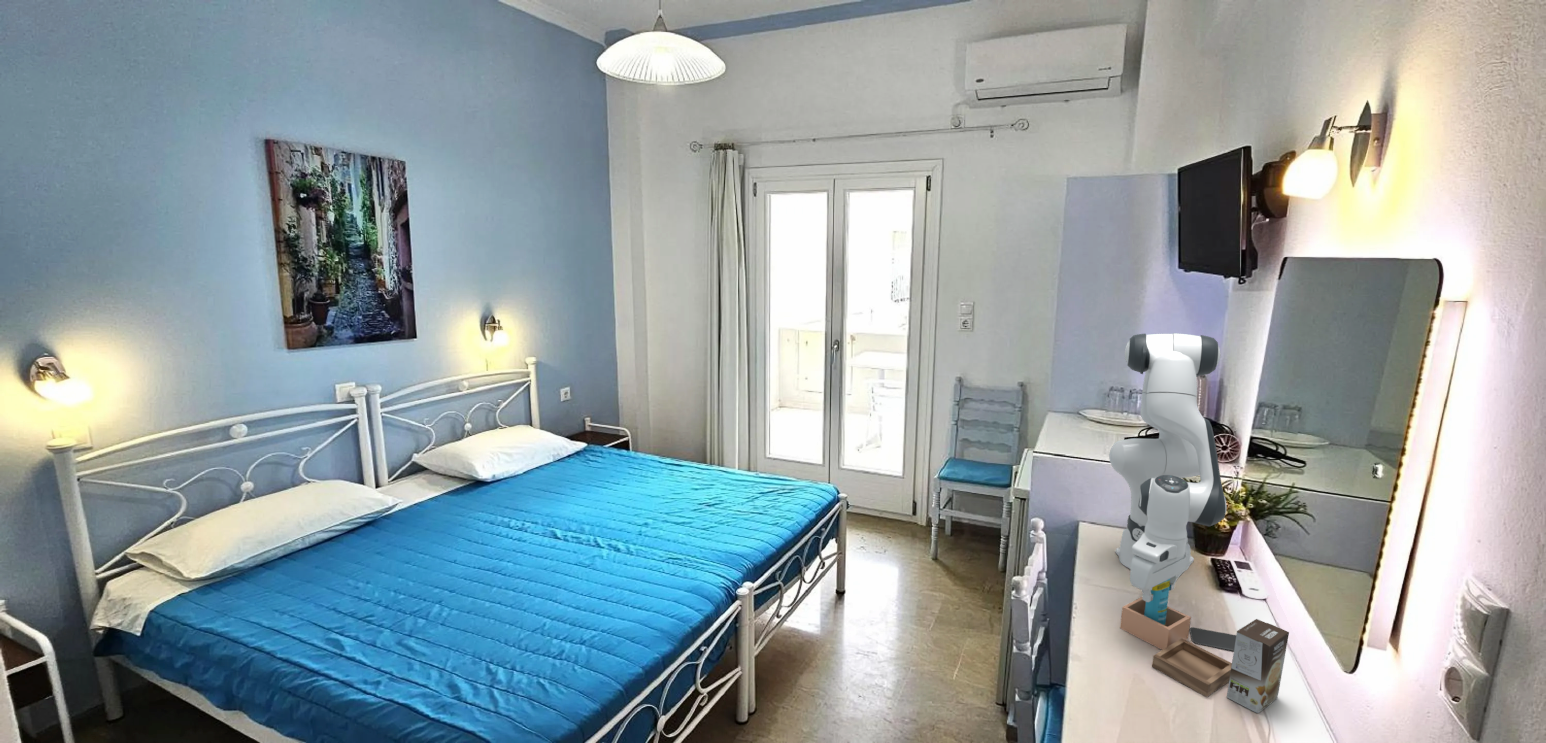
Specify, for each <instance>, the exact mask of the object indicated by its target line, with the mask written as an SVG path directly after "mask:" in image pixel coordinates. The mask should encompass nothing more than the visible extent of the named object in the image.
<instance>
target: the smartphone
mask: <svg viewBox="0 0 1546 743" xmlns="http://www.w3.org/2000/svg"><path fill="white" fill-rule="evenodd" d="M1189 635H1190V639H1191V643H1192V644H1194V645H1196V646H1201V647H1202V646H1203V647H1206V648H1207V647H1208V648H1212V649H1215V650H1216V649H1218V650H1222V651H1227V652H1231V653H1234V647H1235V641H1236V634H1231V633H1226V632H1220V631H1216V630H1215V631H1214V630H1209V629H1204V628H1198V627H1194V626H1192V627H1190V628H1189Z"/></svg>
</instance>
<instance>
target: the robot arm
mask: <svg viewBox="0 0 1546 743" xmlns="http://www.w3.org/2000/svg"><path fill="white" fill-rule="evenodd" d="M1124 359H1125V362H1126V366H1127V367H1128V368H1129V369H1130V370H1132V371H1135V372H1136V373H1137V372H1138V373H1140V374H1141V375H1144V378H1143V384H1142V391H1141V403H1140V411H1139V412H1140V413H1139V414H1140V417H1141V420H1142V421H1143V422H1144V423H1145V424H1147V425H1149V426H1150V427H1152V428H1154V429H1155V430H1158V432H1159V433H1158V434H1159V435H1158V438H1140V437H1139V438H1137V437H1136V438H1135V437H1134V438H1128V439H1122V440H1121V439H1120V440H1117V441H1115V442H1114V443H1113V445H1112V446H1111V448H1110V450H1109V454H1108V455H1109V456H1108V457H1109V463H1110V464H1111V467H1112V469H1113V470H1114V471H1115V472H1116V473H1118V474H1119V475H1120V476H1121V477H1122V478H1123V479H1124V480H1125V481H1126V483H1127V484H1128V487H1129V490H1130V514H1129V515H1128V518H1127V521H1126V523H1127V525H1126V528H1124V529H1123V530H1122V535H1121V539H1120V544H1119V547H1116V549H1115V553H1116V555H1118V561H1119V562H1120V563H1121V564H1122V565H1123V566H1124V567H1126V568H1128V569H1129V571H1130V572H1129V575H1130V576H1129V581H1130V584H1131V586H1132V587H1134V588H1136V589H1139V590H1141V593H1142V596H1141V597H1142V599H1143V600H1144V601H1146V602H1150V601H1152V600H1153V594H1151V590H1152V587H1154V586H1156V585H1158V584H1160V583H1162V582H1164V581H1166V580H1168V579H1170V587H1169V592H1170V591H1171V592H1172V591H1173V590H1174V589H1175V585H1176V582H1177V580H1178V578H1180V576H1181V575H1182V574H1184V572H1185V571H1187V570H1188V569H1189V567H1190V566H1191V565H1192V564H1193V562H1194V557H1193V556H1192V555H1191V545H1190V544H1189V542H1188V541H1189V539H1188V538H1189V537H1188V532H1187V524H1188V522H1190V523H1194V524H1196V525H1197V524H1198V525H1202V526H1206V527H1211V526H1215V525H1216V524H1218V523H1220V522H1221V521H1223V520H1224V519H1225V516H1226V514H1227V508H1228V506H1227V505H1228V504H1227V499H1226V497H1225V494H1224V490H1223V485H1222V479H1221V472H1220V471H1221V470H1220V467H1219V466H1220V464H1219V458H1218V453H1217V446H1216V441H1215V440H1216V439H1215V434H1214V431H1213V427H1212V423H1211V421H1210V420H1209V419H1207V418H1205V417H1204V416H1203V414H1201V412H1200V410H1199V407H1198V399H1197V398H1198V382H1197V378H1198V377H1200V376H1205V375H1209V374H1210V375H1211V373H1212V372H1215V371H1216V369H1217V367H1218V365H1219V363H1220V361H1221V349H1220V346H1219V342H1218V341H1217V340H1216V338H1214V337H1211V336H1206V335H1203V334H1202V335H1201V334H1200V335H1196V334H1195V335H1194V334H1186V333H1176V332H1173V333H1154V334H1153V333H1151V334H1146V333H1138V334H1134V335H1132V336H1131V337H1130V338H1129V340H1128V341H1127V343H1126V346H1125V349H1124ZM1144 373H1145V374H1144ZM1197 476H1199V480H1200V481H1198V482H1191V481H1190V482H1189V481H1187V480H1185V479H1184V478H1190V477H1197Z"/></svg>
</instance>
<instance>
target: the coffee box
mask: <svg viewBox="0 0 1546 743" xmlns="http://www.w3.org/2000/svg"><path fill="white" fill-rule="evenodd" d="M1289 634H1290V631H1287V630H1285V629H1284V628H1281V627H1279V626H1276V625H1273V624H1272V623H1269V622H1265V621H1262V620H1260V619H1258V618H1256V619H1254V620H1252V621H1251V622H1249V623H1248V624H1246V625H1244V626H1243V627H1241V628H1239V629H1238V630H1236V634H1235V635H1236V641H1235V647H1234V652H1232V653H1233V654H1232V661H1231V663H1232V666H1231V672H1230V679H1229V682H1228V684H1227V685H1228V686H1227V692H1226V698H1227V699H1229V700H1231V701H1233V702H1235V703H1236V704H1239V705H1241V706H1243V707H1244V708H1246V709H1248V710H1250V711H1252V712H1254V713H1256V714H1260V711H1261V712H1262V711H1263V710H1264V709H1265V708H1267V707H1268V706H1270V703H1271V702H1272V703H1273V702H1275V701H1276V700H1277V699H1278V698H1279V693H1280V687H1281V681H1282V675H1283V669H1284V663H1285V658H1286V652H1287V647H1288V639H1289ZM1275 699H1276V700H1275ZM1272 703H1271V704H1272Z"/></svg>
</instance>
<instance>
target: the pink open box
mask: <svg viewBox="0 0 1546 743" xmlns="http://www.w3.org/2000/svg"><path fill="white" fill-rule="evenodd" d="M1145 605H1146V601H1144V600H1143V599H1142V596H1140V597H1139V598H1137V599H1135V600H1133V601H1131V602H1129V603H1127V604H1125V605H1123V606H1122V608H1121V616H1120V627H1119V628H1120V629H1121V630H1122V631H1125V632H1127V633H1129V634H1131V635H1133V636H1134V637H1136V638H1138V639H1140V640H1142V641H1144V642H1147V644H1150V645H1152V646H1153V647H1156V648H1158V649H1159V650H1160V651H1162V650H1163V649H1165V648H1167V647H1168V646H1170V645H1171V644H1173V643H1175V642H1176V641H1178V640H1180V639H1181V638H1182V639H1184V640H1186V641H1188V640H1189V637H1190V636H1189V635H1190V632H1189V629H1190V628H1191V627H1190V625H1191V620H1192V619H1191V618H1192V616H1190V615H1188V614H1185V613H1183V612H1181V611H1179V610H1177V609H1175V608H1172V607H1170V606H1168V605H1167V614H1166V623H1165V626H1164V625H1162V624H1160V623H1158V622H1156V621H1154V620H1152V619H1150V618H1148V617H1146V616H1144V612H1145Z"/></svg>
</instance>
